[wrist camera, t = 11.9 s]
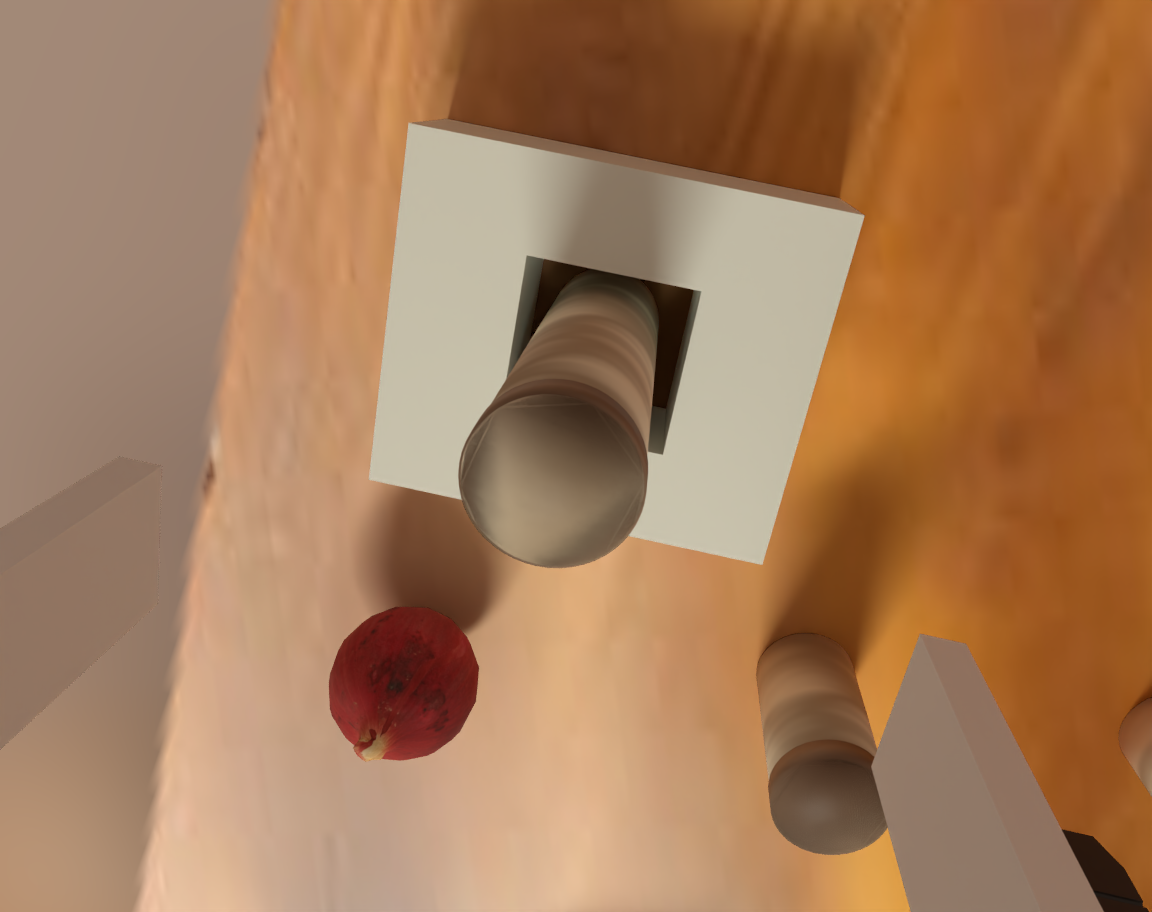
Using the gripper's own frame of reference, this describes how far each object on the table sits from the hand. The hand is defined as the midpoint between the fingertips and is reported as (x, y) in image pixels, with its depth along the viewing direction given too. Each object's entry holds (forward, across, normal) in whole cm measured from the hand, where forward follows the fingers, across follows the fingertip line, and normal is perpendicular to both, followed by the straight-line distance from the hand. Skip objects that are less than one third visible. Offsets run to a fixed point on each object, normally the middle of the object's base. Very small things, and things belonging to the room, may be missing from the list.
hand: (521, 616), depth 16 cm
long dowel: (+21, 0, -1) cm, 21 cm away
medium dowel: (+21, -11, +12) cm, 27 cm away
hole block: (+21, 0, -1) cm, 21 cm away
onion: (+21, +5, +14) cm, 26 cm away
